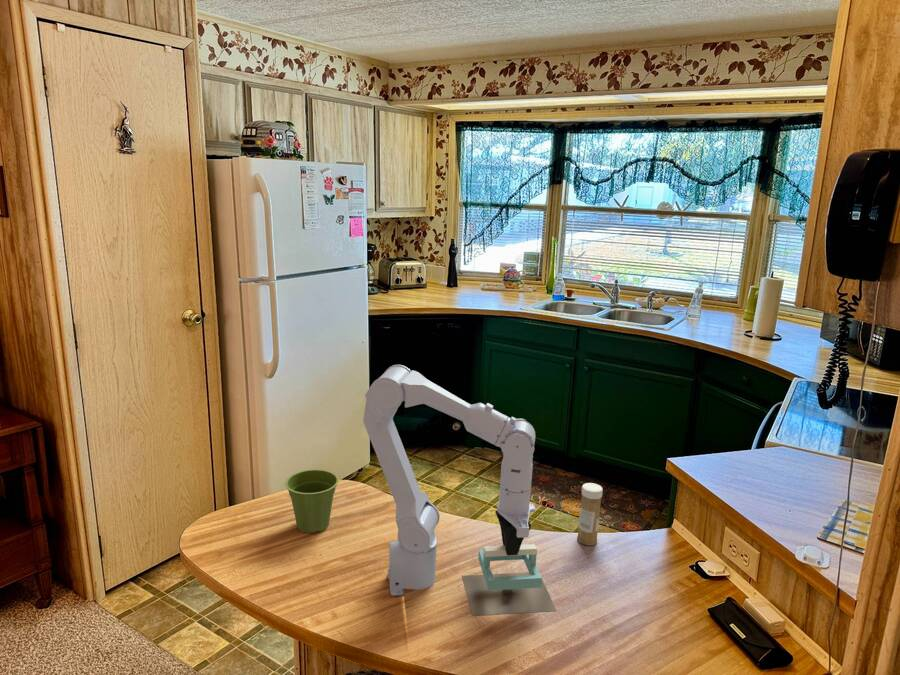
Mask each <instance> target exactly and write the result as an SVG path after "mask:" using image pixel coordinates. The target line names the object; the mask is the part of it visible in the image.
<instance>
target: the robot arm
mask: <svg viewBox="0 0 900 675" xmlns="http://www.w3.org/2000/svg"><path fill="white" fill-rule="evenodd" d="M364 395H365V396H364V397H365V399H366V400H365V406H364V412H363V425H364V427H365V430H366V432H367V434H368V437H369V440H370V442H371V444H372V445H371V446H372V448H373V450H374V452H375V455H376V456H377V460H378V462H379V464H380V468H381V470H382V472H383V475H384V477H385V479H386V482H387V485H388V488H389V490H390V492H391V494H392V497H393V500H394V503H395V524H396V526H397V540H395V541H390V542H389V550H388V551H389V554H388V555H389V557H388V569H387V579H389V580H388V581H389V582H388V583H389V592H390V595H391V596H392V597H393V596H394V597H395V596H405V592H404V589H407V590H414V591H415V590H416V591H419V590H426V589H428V588H430V587H432V586H433V584H434V583H435V581H436V575H437V574H436V570H437V553H438V552H437V550H438V549H437V548H438V539H437V536H436V534H435V529H436V527H437V526H438V524H439V522H440V517H441V516H440V512H439V510H438V508H437V507H436V506H435V505H434V504H433V503H432V502H431V501H430V498H429V495H428V494H427V493H425V492H424V491H423V490H421V488H420V486H419V483H418V481H417V478H416V476H415V473H414V469H413V468H412V465H411V463H410V460H409V458H408V455H407V453H406V450H405V447H404V445H403V442H402V439H401V437H400V435H399V432H398V429H397V427H396V425H395V422H394V417H395V414H396V413H397V411H398V408H399V407H400V406H401V405H402V403H403V402H404V408H410V407H414V406H418V405H426V406H427V407H430V408H433V409H434V410H437V411H439V412H442V413H443V414H446V415H448V416H450V417H452V418H455V419H457V420H459V421H461V422H462V424H463V425H464V428H465V430H466V431H467V432H468V433H470V434H473V435H474V436H475V437H476V436H477V437H478V438H480V439H482V440H483V441H486V442H488V443H489V444H492V445H494V446H496V447H499V448H500V449H501V452H502V455H503V456H502V461H501V467H500V468H501V470H500V481H499V482H500V483H499V495H498V496H499V497H498V502H497V508H496V510H495V516H496V517H497V519H498V522H499V526H500V532H501V540H502V546H505V550H506V554H507V555H517V554H518V552H519V549H520V546H521V545H523V544H522V543H523V542H524V539H525V538H529V535H530V530H532V529H531V528H532V524H531V523H530V516H531V513H535V512H536V506H535V505H534V504H533V503H530V500H531V490H532V481H533V480H532V478H533V466H534V464H533V461H534V460H533V458H534V455H533V454H534V452H535V442H536V431H535V428H534V427H533V425H532V424H531V423H530V422H528V421H527V420H526V419H524V418H516V417H514V416H511V417H509V416H507V415H506V414H503V413H501V412H500V411H498V410H496V409H494V405H492V404H491V403H489V402H487V403H486V404H485V403H482V402H477V403H473V404H471V403H469V402H467V401H465V400H463V399H462V398H460V397H458V396H457V395H455V394H453V393H452V392H449V391H448V390H446V389H444V388H443V387H441V386H440V385H438V384H436V383H434V382H432V381H431V380H429V379H427V378H426V377H425V376H424V375H423V374H422V373H420V372H418V371H417V370H411V369H410V368H408V367H407V366H405V365H402V364H393V365H392V366H391V365H390V366H389V367H388V368H386V370H385V371H384V373H382V375H381V376H379V377H378V378H377V379H375V380H374V381H373V382H372V384H371V385H370V386H369V388H368V389H367V391H366V393H365V394H364Z"/></svg>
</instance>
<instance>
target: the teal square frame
mask: <svg viewBox="0 0 900 675" xmlns="http://www.w3.org/2000/svg"><path fill="white" fill-rule="evenodd" d="M537 553H538V548H537V546H536V544H535V543H531V544H530V543H528V544H521V546H520V549H519V552H518V554H517V555H507V554H506V550H505V546H503V545H490V546H489V545H488V546H486V545H485V546H483V549H478V561H479V562H478V563H479V565H480V568H481V571H482V575H484V578H485V581H486V584H487V587H488V590H506V589H524V588H541V584H542V580H543V576H542V575H541V573H540V571H539V568H538V566H537ZM516 560H518V561H519V560H523V561H524V564H525V566H526V569H527V572H529V573H530V575H527V576H509V577H493V575H492V574H493V571H492V569H491V562H496V561H516Z"/></svg>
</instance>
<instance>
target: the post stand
mask: <svg viewBox="0 0 900 675" xmlns="http://www.w3.org/2000/svg"><path fill="white" fill-rule="evenodd" d="M492 575H493V577H509V576H527V575H530V573H529V571H527V572H526V571H525V572H509V573H507V572H506V573H492ZM461 578H462V582H463V586H464V590H465V593H466V597H467V601H468V604H469V608H470V612H471V616H472V617H477V616H478V617H479V616H481V617H482V616H497V615H510V614H511V615H513V614H527V613H542V612H543V613H544V612H545V613H546V612H557V608H556V607H555V604H554V602H553V600H552V598H551V595H550V592H549V591H548V589H547V587H546V584H545V583H544V580H543V579H542V584H541V588H524V589H506V590H488V587H487V584H486V581H485V578H484V575H483V574H472V575H469V574H468V575H461Z"/></svg>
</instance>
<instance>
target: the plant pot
mask: <svg viewBox="0 0 900 675" xmlns="http://www.w3.org/2000/svg"><path fill="white" fill-rule="evenodd" d="M339 481H340V479H339V476H338V475H337V474H336V473H334V472H332V471H330V470H325V469H321V468H320V469H318V468H312V469H304V470H301V471H298V472H294V473H293V474H291V475H290V476H289V477H287V479H286V480H285V481H284V486H285V488H286V489H287V490H288V495H289V497H290V499H291V504H292V508H293V509H292V510H293V514H294V518H295V522H296V527H297V529H298V530H299V531H301V532H303V533H308V534H314V533H316V532H323V531H325V529H327V528H328V527H329V525H330V522H331V513H332V508H333V500H334V495H335V492H336V487H337V486H338V484H339Z"/></svg>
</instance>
